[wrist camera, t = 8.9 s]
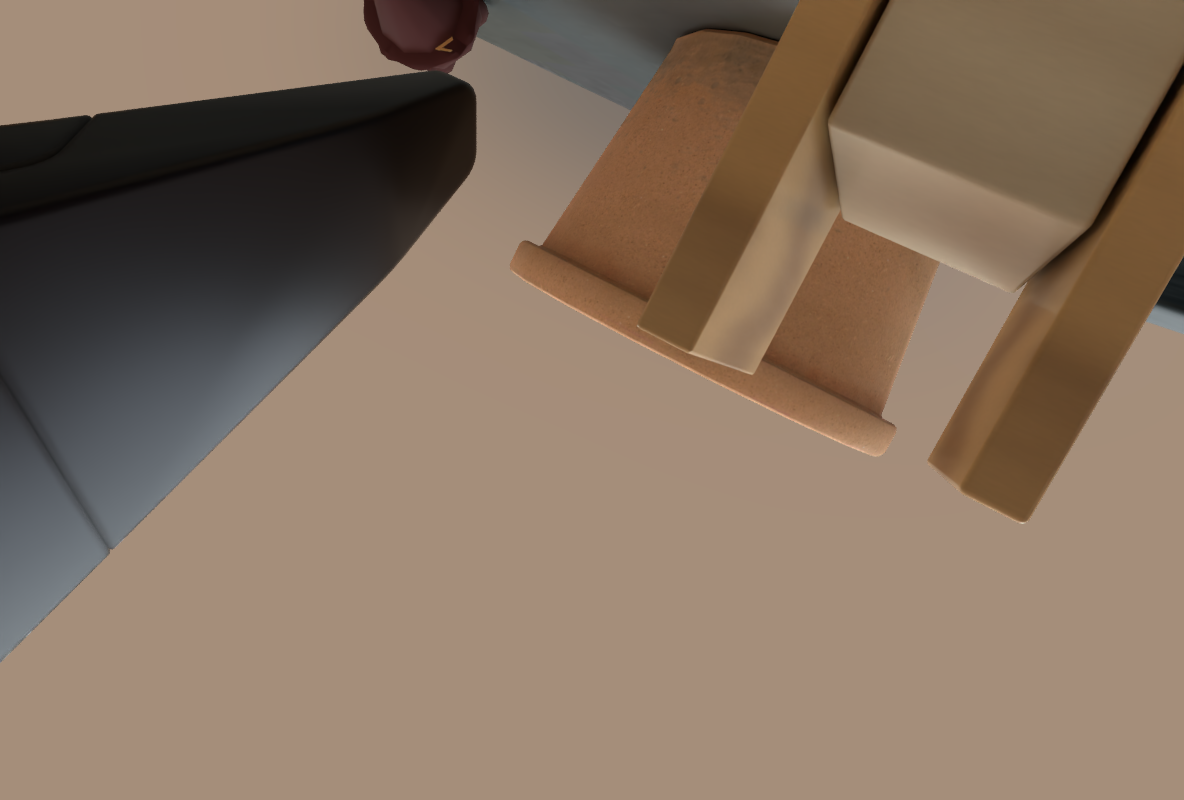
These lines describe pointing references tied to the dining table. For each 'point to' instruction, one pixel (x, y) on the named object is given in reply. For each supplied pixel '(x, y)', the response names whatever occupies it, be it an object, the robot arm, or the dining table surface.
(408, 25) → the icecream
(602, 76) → the dining table surface
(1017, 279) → the napkin holder
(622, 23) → the dining table surface
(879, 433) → the pottery
